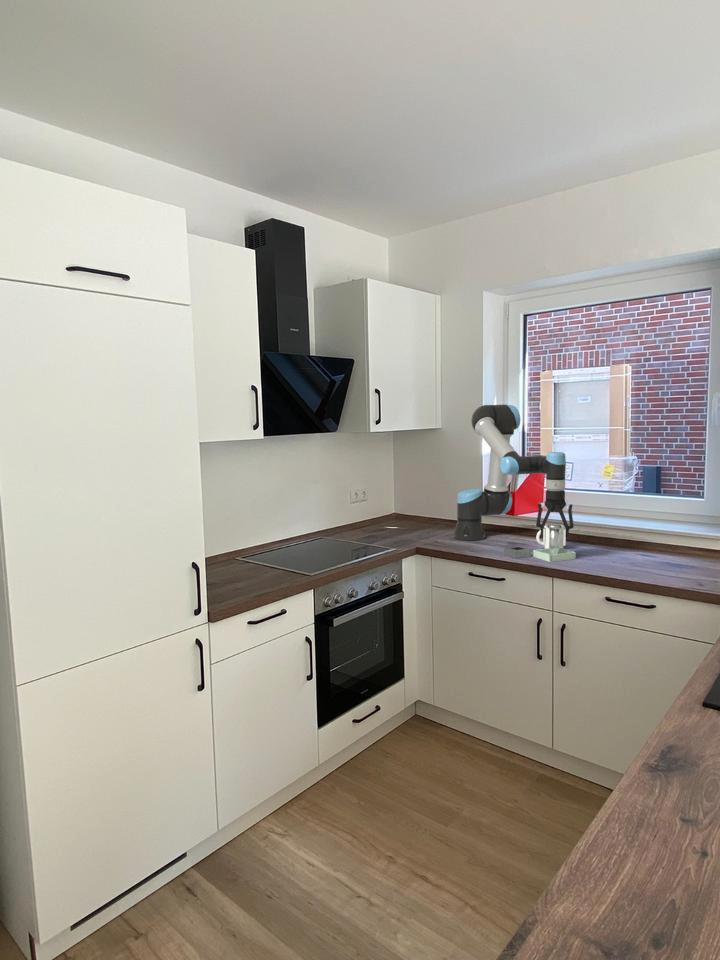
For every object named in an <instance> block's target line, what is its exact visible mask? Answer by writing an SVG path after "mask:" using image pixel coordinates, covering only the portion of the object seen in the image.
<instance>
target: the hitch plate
mask: <svg viewBox="0 0 720 960" xmlns="http://www.w3.org/2000/svg"><path fill="white" fill-rule="evenodd" d="M504 554H505V555H504ZM503 555H504V556H507V555H508V557H510V558H513V559H521V558H520V557H523V558H530V557H529V556H531V557H532V549H530V548H528V547H525V546H521V545H516V546H514V545H513V546H506V547H503Z"/></svg>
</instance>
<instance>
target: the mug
mask: <svg viewBox="0 0 720 960" xmlns="http://www.w3.org/2000/svg"><path fill="white" fill-rule="evenodd" d="M547 527H548V524H545V526H544V528H546V543H545V544H543V541H541V540H540V536H541V529H540V530H539V531H538V532H537V533H536V537H535V538H536V539H535V540H536V542H537V543H538V544H539V545H540V546H543V549H546V548H549V528H547ZM564 529H565V526H564V525H562V528H561V529H560V533H559V548H563V549H564V546H563V537H564Z"/></svg>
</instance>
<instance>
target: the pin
mask: <svg viewBox="0 0 720 960" xmlns="http://www.w3.org/2000/svg"><path fill="white" fill-rule="evenodd" d="M547 525H548V527H547V528H549V555H554V554H559V533H560V529H561V528H562V526H563V525H562V524H561V523H559V524H558V523H547Z"/></svg>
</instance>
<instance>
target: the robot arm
mask: <svg viewBox="0 0 720 960" xmlns="http://www.w3.org/2000/svg"><path fill="white" fill-rule="evenodd" d="M520 425H521V415H520V412H519V410H518V407H516V406H515V405H512V404H483V405H481V406H479V407H478V408H477V407H476V409H475V410H474V412H473V413H472V416H471V426H472V428H473V430H474V431H475V433H476V434H478V435H479V436H481V437H482V438H483V439H484V441H485V442H486V444H487V445H488V446H489V448H490V455H489V464H488V465H489V466H488V474H487V475H488V476H487V483H486V485H484V486H483V491H482V489H480V488H470V489H465V490H460V492H458V493H457V499H456V503H457V506H456V507H457V508H456V510H457V511H456V513H457V514H456V515H457V518H456V519H457V521H456V525H455V528H454V531H453V538H454V539H455V540H460V541H481V540H484V539H486V532H485V529H484V526H483V523H482V522H483V521H482V520H483V519H482V517H483V516H493V515H495V516H498V515H499V516H500V515H505V514H507V513H508V512H510V510H511V508H512V505H513V495H512V493H511V492H510V491H509V487H507V485H506V483H507V475H509V476H515V475H533V474H536V475H537V474H544V475H545V478H546V479H545V489H546V490H545V501H544V502H538V504H537V507H538V511H537V517H536V523H535V524H536V525H535V526H536V527H538V528H539V529H540V530H541V534H540V536H541V537H542V542H543V544H545V543H546V528H544V526H545V525H546V524H547V521H548V519H549V516H550V514H551V513H558V514H559V515H560V518H561V521H562V524H563V526H564V537H563V547H564V546H566V545H567V544H566V543H567V538H569V536H570V530H571V529H574V518H573V510H572V509H573V504H572V503H567V502H566V491H565V489H566V465H567V459H566V453H565V452H563V451H549V452H547V453H546V455H542V454H536V455H530V456H529V455H525V456H522V455H521V456H520V455H519V454H518V452H517V451H516V450H515V448H514V447H513V446H512V445H511V443H510V442H511V437H512V436H513V435H515V430H516V429H519V427H520ZM544 507H546V509H547V511H546V513H545V516H544V517H543V520H542V519H541V518H542V515H543V514H542V513H543V509H544ZM565 507H566V509H567V511H568V512H567V513H568V522H569V524H568V522H567V519H566V516H565V514H564V511H563V510H564V508H565ZM541 520H542V522H541Z"/></svg>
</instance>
